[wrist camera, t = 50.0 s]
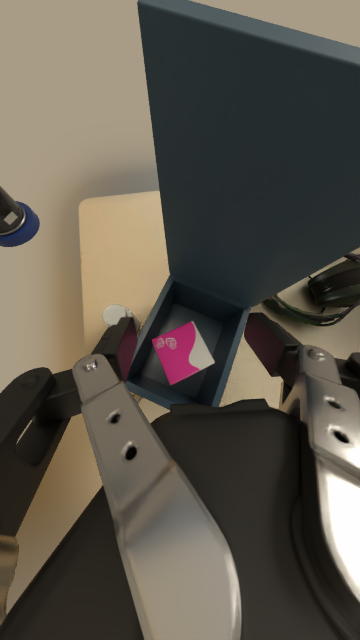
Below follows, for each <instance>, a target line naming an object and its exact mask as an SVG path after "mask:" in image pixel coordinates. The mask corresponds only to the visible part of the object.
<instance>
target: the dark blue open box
mask: <svg viewBox="0 0 360 640" xmlns="http://www.w3.org/2000/svg"><path fill="white" fill-rule="evenodd" d="M250 309H251V306H248V305H246V304H243V303H241V302H239V301H236V300H234V299H231V298H229V297H226V296H224V295H222V294H219V293H217V292H214V291H212V290H209V289H207V288H204V287H202V286H200V285H197V284H195V283H192V282H190V281H187V280H185V279H182V278H180V277H178V276H175V275H173V274H170V276H169V278H168V279H167V281H166V283H165V285H164V287H163V289H162V291H161V293H160V295H159V297H158V299H157V301H156V303H155V305H154V307H153V309H152V311H151V313H150V315H149V317H148V319H147V321H146V322H145V324H144V326H143V328H142V330H141V332H140V334H139V336H138V338H137V345H136V349H135V352H134V356H133V359H132V363H131V366H130V370H129V373H128V376H127V380H126V383H125V385H126V386H127V388H128V390H129V391H131V392H133V393H135V394H137V395H139V396H141V397H143V398H146V399H148V400H150V401H152V402H154V403H156V404H158V405H161V406H163V407H165V408H167V409H169V410H170V404H181V403H198V404H203V405H208V406H213V407H219V405H220V402H221V399H222V395H223V392H224V389H225V386H226V383H227V380H228V377H229V374H230V371H231V368H232V365H233V362H234V358H235V355H236V352H237V349H238V346H239V343H240V340H241V337H242V334H243V331H244V328H245V325H246V322H247V318H248V315H249V312H250ZM191 321H193V322H194V324H195V326H196V328H197V329H198V331H199V333H200V335H201V337H202V339H203V341H204V343H205V344H206V346H207V348H208V350H209V352H210V354H211V356H212V357H213V359H214V361H215V363H214V364H212V365H210V366H208V367H206V368H204V369H203V370H201V371H199V372H197V373H195V374H193V375H191V376H189V377H187V378H185V379H183V380H181V381H179V382H177V383H175V384H173V385H170V384H169V381H168V379H167V377H166V374H165V372H164V369H163V367H162V364H161V362H160V359H159V357H158V355H157V352H156V350H155V347H154V345H153V343H152V339H154V338H157V337H159V336H161V335H163V334H165V333H167V332H170V331H172V330H174V329H176V328H178V327H180V326H182V325H185V324H187V323H189V322H191Z"/></svg>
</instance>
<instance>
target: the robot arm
mask: <svg viewBox="0 0 360 640" xmlns="http://www.w3.org/2000/svg"><path fill="white" fill-rule="evenodd" d="M26 221H27V213H26V211H25V210H24V209H23V208H22V207H21V206H20V205H18V204H17V203H16V202H15V201H14V200H13V199H12V198H11V197H10V196H9V195H8V193H7V192H6V191H5V190H4V189H3V188H2V187H1V186H0V236H8V235H11V234H14V233H16V232H17V231H19V230H20V229H21V228H22V227H23V226H24V225H25V223H26ZM244 337H245V340H246V341H247V343H248V344H249V346H250V347H251V348H252V350H253V351H254V353H255V354H256V355H257V357H258V358H259V360H260V361H261V363H262V364H263V365H264V367H265V368H266V370H267V371H268V373H269V374H270V375H271V377H277V376H281V377H282V379H283V381H282V383H281V392H280V401H279V409H275V408H272V407H269V406H268V404H267V402H266V400H265V399H248V400H240V401H237V402H235V403H232V404H229V405H226V406H224V407H213V406H208V405H203V404H198V403H181V404H170V412H169V413H166V414H164V415H162V416H160V417H159V418H157V419H155V420H154V421H153V422H152V423H149V422H148V420H147V418H146V417H145V415H144V413H143V412H142V410H141V409H140V407H139V405H138V404H137V402H136V401H135V399H134V398H133V396H132V394H131V393H130V391H129V390H128V388H127V386H126V385H125V383H126V380H127V376H128V373H129V370H130V366H131V363H132V359H133V356H134V352H135V349H136V345H137V333H136V328H135V322H134V318H133V317H121V318H120V320H119V321H118V323H117V324H116V325H112V326H111V327H109V328H108V329H107V330H106V332H105V333H104V335H103V336H102V338H101V340H100V341H99V342H98V344H97V346H96V347H95V349H94V350H93V352H92V353H91V355H88V356H85V357H83V358H82V359H80V360H79V361H78V362H76V364H75V365H74V366H73V369H70V370H66V371H63V372H59V373H55V374H52V372H51V371H50V370H49V369H48V368H44V367H41V368H36V369H33V370H29V371H27V372H25V373H23V374H21V375H20V376H18V377H17V378H16V379H14V380H13V381H12V382H11V383H10V384H9V385H8V386H7V387H6V388H5V389H4V390H3V391H2V392H1V393H0V640H360V353H358V352H356V353H352V354H351V355H350V356H349V358H348V359H347V360H343V359H337V358H334V357H333V356H332V355H331V354H330V353H328V352H327V351H325V350H323V349H321V348H319V347H316V346H312V345H303V344H301V343H300V342H299V341H298V340H297V339H296V338H294V337H293V336H292V335H291V334H290V333H288V332H287V331H286V330H285V329H284V328H283V327H281V326H280V325H279V324H278V323H276V322H274V321H272V320H270V319H269V318H268V317H267V316H266V315H265V314H263V313H250V314H249V316H248V319H247V323H246V327H245V331H244ZM80 413H82V414H83V418H84V421H85V424H86V427H87V431H88V435H89V438H90V442H91V445H92V448H93V452H94V455H95V459H96V462H97V466H98V469H99V472H100V476H101V479H102V483H103V486H102V487H101V489H100V490H99V491H98V493H97V494H96V495H95V496H94V498H93V499H92V500H91V502H90V503H89V505H88V506H87V507H86V508H85V510H84V511H83V513H82V514H81V515H80V517H79V518H78V519H77V521H76V522H75V523H74V525H73V526H72V527H71V529H70V530H69V531H68V533H67V534H66V535H65V537H64V538H63V539H62V541H61V542H60V544H59V545H58V546H57V548H56V549H55V550H54V552H53V553H52V554H51V556H50V557H49V558H48V560H47V561H46V562H45V564H44V565H43V566H42V568H41V569H40V571H39V572H38V573H37V574H36V576H35V577H34V578H33V580H32V581H31V582H30V584H29V585H28V587H27V588H26V589H25V591H24V592H23V593H22V595H21V596H20V597H19V599H18V600H17V601H16V603H15V604H14V606H13V607H12V609H11V610H10V612H9V613H8V615H7V614H6V602H7V594H8V591H9V588H10V586H11V584H12V581H13V579H14V575H15V569H16V566H17V561H18V555H19V544H18V541H17V539H16V538H15V536H16V534H17V532H18V530H19V527H20V525H21V523H22V521H23V519H24V517H25V515H26V512H27V510H28V508H29V506H30V504H31V502H32V500H33V498H34V495H35V493H36V491H37V489H38V487H39V485H40V482H41V481H42V478H43V476H44V474H45V472H46V470H47V468H48V466H49V464H50V461H51V459H52V457H53V455H54V453H55V451H56V449H57V447H58V444H59V442H60V440H61V438H62V436H63V434H64V431H65V430H66V427H67V425H68V423H69V421H70V419H71V417H72V416H75V415H78V414H80ZM30 420H32V422H31V424H30V425H29V427H28V428H27V430H26V431H25V433H24V434H23V436H22V437H21V439H20V440H19V442H18V443H17V441H18V439H19V437H20V435H21V434H22V432H23V431H24V429H25V428H26V426H27V425H28V423H29V422H30ZM16 443H17V445H16Z"/></svg>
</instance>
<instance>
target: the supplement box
mask: <svg viewBox="0 0 360 640" xmlns="http://www.w3.org/2000/svg"><path fill="white" fill-rule="evenodd" d="M152 343H153V345H154V347H155V350H156V352H157V355H158V357H159V359H160V362H161V364H162V367H163V369H164V372H165V374H166V377H167V379H168V381H169V384H170V385H173V384H175V383H177V382H179V381H181V380H183V379H185V378H187V377H189V376H191V375H193V374H195V373H197V372H199V371H201V370H203V369H204V368H206V367H208V366H210V365H212V364H214V363H215V361H214V359H213V357H212V356H211V354H210V352H209V350H208V348H207V346H206V344H205V343H204V341H203V339H202V337H201V335H200V333H199V331H198V329H197V328H196V326H195V324H194V322H193V321H191V322H189V323H187V324H185V325H182V326H180V327H178V328H176V329H174V330H172V331H170V332H167V333H165V334H163V335H161V336H159V337H157V338H154V339H152Z"/></svg>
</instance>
